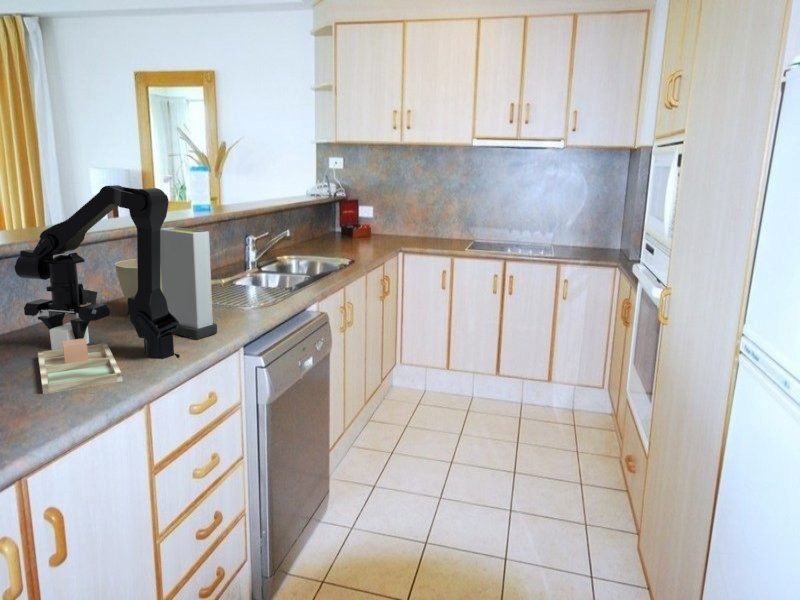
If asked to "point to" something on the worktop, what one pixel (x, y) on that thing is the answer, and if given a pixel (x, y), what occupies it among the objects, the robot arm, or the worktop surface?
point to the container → (187, 280)
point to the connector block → (63, 335)
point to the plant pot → (129, 277)
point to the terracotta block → (75, 350)
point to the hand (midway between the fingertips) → (70, 343)
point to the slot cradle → (78, 369)
